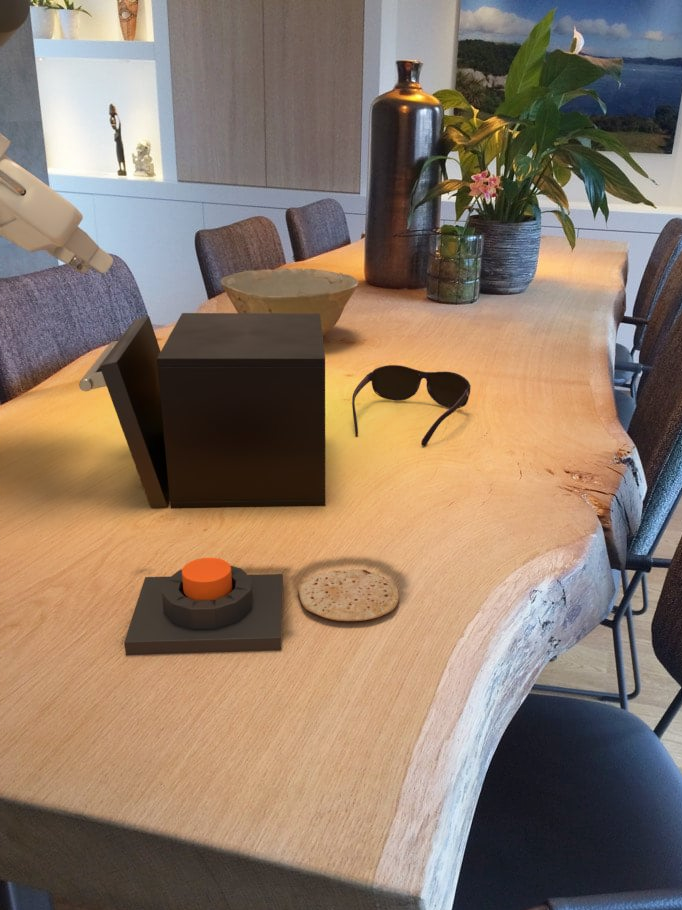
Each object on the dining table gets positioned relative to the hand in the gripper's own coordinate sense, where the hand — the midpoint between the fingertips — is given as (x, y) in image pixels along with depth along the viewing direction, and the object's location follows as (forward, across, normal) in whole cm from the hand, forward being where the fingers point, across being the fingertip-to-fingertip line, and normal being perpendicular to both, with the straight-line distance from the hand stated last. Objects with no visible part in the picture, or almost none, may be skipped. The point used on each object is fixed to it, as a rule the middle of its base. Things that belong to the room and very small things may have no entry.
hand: (98, 268), depth 82 cm
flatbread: (+24, -32, +14) cm, 43 cm away
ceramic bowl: (+38, +43, -15) cm, 59 cm away
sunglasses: (+40, +1, -8) cm, 41 cm away
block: (+16, -30, +20) cm, 40 cm away
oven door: (+16, -1, +14) cm, 22 cm away
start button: (+15, -30, +18) cm, 38 cm away
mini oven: (+24, -5, +8) cm, 25 cm away
